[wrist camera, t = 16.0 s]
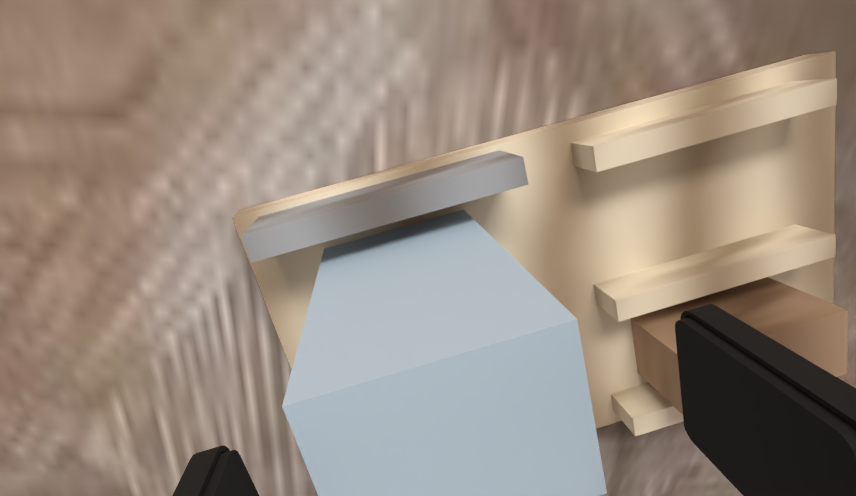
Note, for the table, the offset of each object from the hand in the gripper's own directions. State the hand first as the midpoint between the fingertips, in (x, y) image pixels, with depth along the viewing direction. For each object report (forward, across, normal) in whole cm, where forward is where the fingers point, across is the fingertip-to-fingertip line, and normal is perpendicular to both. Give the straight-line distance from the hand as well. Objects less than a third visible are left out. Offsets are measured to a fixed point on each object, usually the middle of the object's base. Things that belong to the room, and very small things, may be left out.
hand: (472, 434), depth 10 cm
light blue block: (+11, +1, +1) cm, 11 cm away
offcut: (+11, -12, +7) cm, 18 cm away
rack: (+13, -6, +4) cm, 15 cm away
